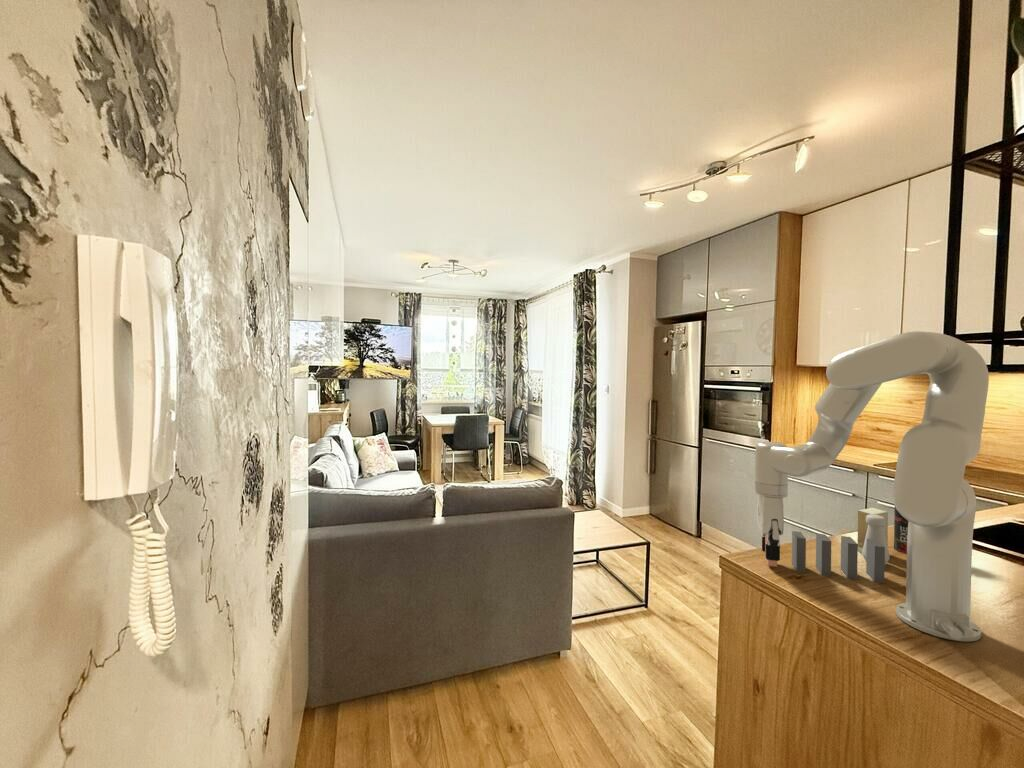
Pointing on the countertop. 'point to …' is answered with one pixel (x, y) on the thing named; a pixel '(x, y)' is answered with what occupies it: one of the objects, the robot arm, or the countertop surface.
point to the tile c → (849, 557)
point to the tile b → (823, 554)
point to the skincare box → (864, 526)
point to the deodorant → (900, 532)
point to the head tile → (769, 562)
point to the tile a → (799, 552)
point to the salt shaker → (876, 533)
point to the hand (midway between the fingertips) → (770, 555)
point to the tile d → (875, 560)
